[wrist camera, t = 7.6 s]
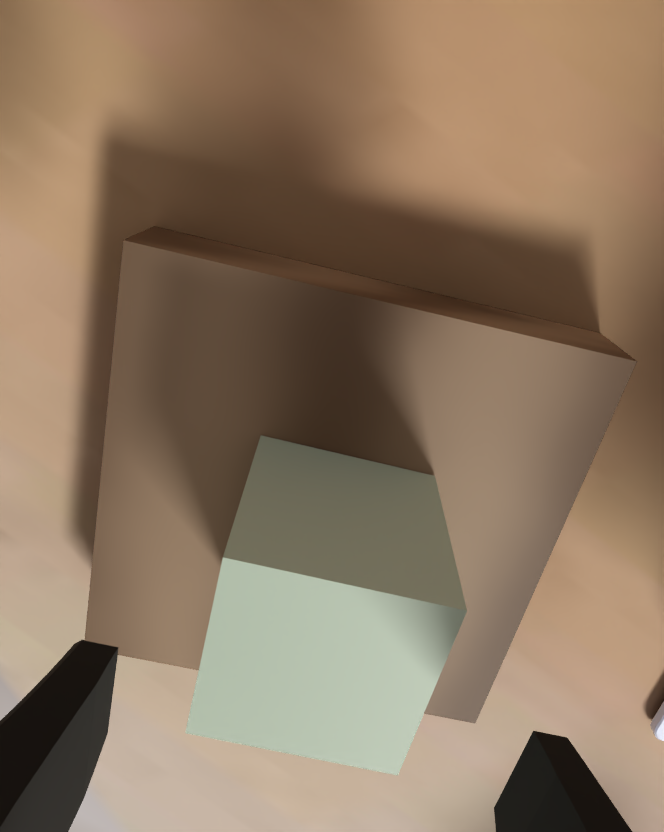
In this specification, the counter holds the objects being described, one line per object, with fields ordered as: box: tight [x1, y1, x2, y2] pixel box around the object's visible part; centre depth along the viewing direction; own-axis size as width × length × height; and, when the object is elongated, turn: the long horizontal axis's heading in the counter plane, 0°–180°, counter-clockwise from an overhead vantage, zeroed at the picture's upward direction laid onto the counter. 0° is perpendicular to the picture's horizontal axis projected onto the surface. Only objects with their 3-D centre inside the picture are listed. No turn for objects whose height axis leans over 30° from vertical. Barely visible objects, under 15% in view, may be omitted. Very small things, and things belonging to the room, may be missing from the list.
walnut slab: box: [85, 226, 637, 723], centre depth 18 cm, size 12×12×3 cm
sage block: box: [186, 435, 467, 775], centre depth 15 cm, size 4×4×5 cm
